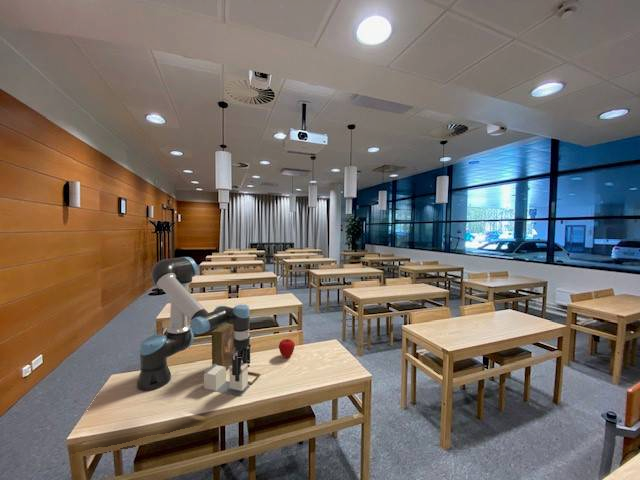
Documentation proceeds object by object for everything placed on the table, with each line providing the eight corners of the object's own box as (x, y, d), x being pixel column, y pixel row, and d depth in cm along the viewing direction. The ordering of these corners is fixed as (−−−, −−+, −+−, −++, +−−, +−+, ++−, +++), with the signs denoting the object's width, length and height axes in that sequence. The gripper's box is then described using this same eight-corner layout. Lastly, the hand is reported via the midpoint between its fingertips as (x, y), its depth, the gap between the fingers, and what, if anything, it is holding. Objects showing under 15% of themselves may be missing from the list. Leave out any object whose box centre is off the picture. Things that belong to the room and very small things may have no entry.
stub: (229, 388, 130) (229, 366, 129) (235, 382, 135) (235, 361, 134) (242, 390, 128) (242, 368, 127) (247, 384, 133) (247, 363, 132)
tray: (234, 383, 139) (234, 379, 139) (243, 374, 147) (243, 370, 147) (252, 386, 136) (252, 382, 136) (260, 377, 144) (260, 373, 144)
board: (201, 391, 132) (201, 388, 132) (213, 380, 141) (213, 378, 141) (240, 399, 126) (240, 396, 126) (250, 388, 135) (250, 385, 135)
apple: (276, 358, 165) (275, 341, 165) (284, 351, 174) (284, 335, 173) (289, 361, 161) (289, 344, 161) (297, 354, 170) (297, 337, 169)
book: (228, 361, 161) (228, 321, 159) (236, 362, 160) (236, 321, 158) (212, 376, 145) (211, 331, 143) (221, 377, 143) (220, 332, 142)
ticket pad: (203, 388, 132) (203, 371, 132) (214, 379, 140) (214, 363, 139) (215, 391, 130) (215, 374, 130) (226, 381, 138) (225, 365, 138)
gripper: (237, 346, 120) (237, 396, 121) (257, 331, 137) (257, 374, 139) (223, 344, 122) (223, 392, 123) (244, 329, 139) (244, 372, 141)
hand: (241, 383), depth 131 cm, fingers closed on stub, 5 cm apart
